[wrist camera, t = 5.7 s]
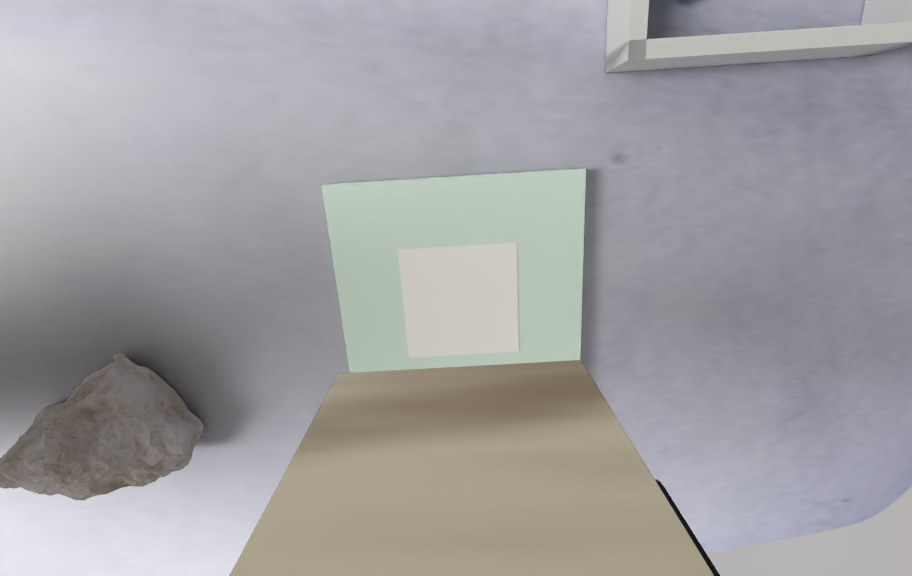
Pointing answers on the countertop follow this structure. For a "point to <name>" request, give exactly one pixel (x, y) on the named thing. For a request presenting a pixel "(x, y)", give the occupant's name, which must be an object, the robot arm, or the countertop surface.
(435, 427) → the birch block
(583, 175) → the plate
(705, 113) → the countertop surface
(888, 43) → the toy pen
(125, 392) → the stone
